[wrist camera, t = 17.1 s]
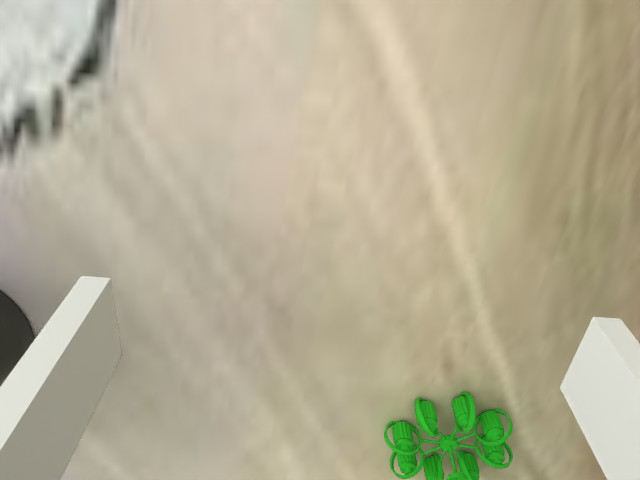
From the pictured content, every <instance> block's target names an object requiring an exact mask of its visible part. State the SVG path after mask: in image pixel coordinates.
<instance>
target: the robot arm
mask: <svg viewBox="0 0 640 480" xmlns="http://www.w3.org/2000/svg"><path fill="white" fill-rule="evenodd" d="M121 356H122V351H121V344H120V337H119V331H118V324H117V318H116V311H115V305H114V298H113V292H112V285H111V278H102V277H90V276H81V277H80V278H79V280H78V281H77V282H76V284H75V285H74V287H73V288H72V289H71V291H70V292H69V293H68V295H67V296H66V298H65V299H64V300H63V302H62V303H61V304H60V306H59V307H58V308H57V310H56V311H55V313H54V314H53V315H52V317H51V318H50V319H49V321H48V322H47V324H46V325H45V326H44V328H43V329H42V330H41V332H40V333H39V334H38V336H37V337H36V339H35V340H34V339H33V333H32V330H31V327H30V325H29V323H28V321H27V319H26V317H25V316H24V314H23V313H22V312H21V310H20V309H19V308H18V307H17V306H16V304H15V303H14V302H13V301H12V300H11V299H9V298H8V297H7V296H6V295H5V294H4V293H2V292H1V291H0V480H60V479H61V477H62V475H63V473H64V471H65V469H66V467H67V465H68V463H69V461H70V459H71V457H72V455H73V453H74V451H75V449H76V447H77V445H78V443H79V441H80V439H81V437H82V435H83V433H84V431H85V429H86V427H87V425H88V423H89V421H90V419H91V417H92V415H93V413H94V411H95V409H96V406H97V404H98V402H99V400H100V398H101V396H102V394H103V392H104V390H105V388H106V386H107V384H108V382H109V380H110V378H111V376H112V374H113V372H114V370H115V368H116V366H117V364H118V362H119V360H120V358H121ZM560 389H561V391H562V393H563V395H564V396H565V398H566V400H567V402H568V404H569V406H570V408H571V410H572V412H573V414H574V416H575V418H576V420H577V422H578V424H579V426H580V428H581V429H582V431H583V433H584V435H585V437H586V439H587V441H588V443H589V445H590V447H591V449H592V451H593V453H594V455H595V457H596V459H597V461H598V462H599V464H600V466H601V468H602V470H603V472H604V474H605V476H606V478H607V480H640V344H639V342H638V341H637V340H636V339H635V337H634V336H633V335H632V333H631V332H630V331H629V329H628V328H627V327H626V326H625V324H624V323H623V322H622V320H621V319H616V318H603V317H593V318H592V320H591V322H590V325H589V327H588V329H587V331H586V333H585V335H584V337H583V339H582V341H581V344H580V346H579V348H578V350H577V352H576V354H575V356H574V358H573V361H572V363H571V365H570V367H569V369H568V371H567V373H566V375H565V377H564V380H563V382H562V384H561V386H560Z"/></svg>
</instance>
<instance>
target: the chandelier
mask: <svg viewBox="0 0 640 480" xmlns="http://www.w3.org/2000/svg"><path fill="white" fill-rule="evenodd" d="M465 395H466V396H467V397H466V396H465ZM461 399H462V400H461ZM424 402H425V403H424ZM452 407H453V411H454V414H455V422H456V428H455V430H454V432H453V434H452V435H446V436H443V435H442V434H441V432H440V431H439V430H438V428H437V416H436V411H435V407H434V405H433V404H432V403H431V402H429V401H423V399H422V398H418V399H416V400H415V412H416V418H417V422H418V425H419V426H420V429H421V430H422V431H424V432H426V433H427V434H428V435H429V436H430V437H432V438H433V437H435V436H437V435H438V433H439V435H440V436H441V438H440V439H439V441H432V440H425V439H422V438H421V435H420V433H419V431H418V430H417V429H416V428H415V427H414V426H413V425H411V424H409V423H407V422H405V421H399V422H395V421H392V422H390V423H389V424H388V425H387V427H386V429H385V432H384V437H385V441H386V443H387V444H388V446H389V447H390V448H391V449H392V450H394V452H393V454H392V456H391V460H390V466H391V470H392V471H393V473H394V474H395V475H396V476H397V477H399V478H402V479H408V478H411V477H413V476H415V475H416V474H417V473H418V472H419V471H420V470H421V468H422V466H423V465H424V471H425V477H426V480H444V472H443V467H442V461H441V460H442V459H443V457H444V455H445V453H446V451H449V455H450V459H451V464H452V468H453V472H454V473H452V474H450V475H449V476H448V477H447V479H446V480H479V468H478V465H477V461H476V458H475V456H474V455H473V454H471V453H463V452H465V451H464V450H461V451H459V452H458V453H457V452H456V451H455V449H456V448H457V446H458V447H465V448H472V449H475V450H476V453H477V454H478V456H479V457H480V458H481V459H482V460H483V461H484V462H485V463H486V464H488V465H490V466H492V467H495V468H506V467H508V466H509V465H510V463H511V461H512V458H513V455H512V451H511V449H510V447H509V446H508V444H507V443H506V442H505V441H506V440H507V439H508V438H509V436H510V434H511V432H512V421H511V419H510V418H509V416H508V415H507V414H506V413H505V412H504V411H502V410H499V409H494V410H491V411H488V412H487V411H486V412H483V413H482V414H481V415H479V416H478V417H477V419H475V418H476V413H475V404H474V400H473V397H472V395H471V394H470V393H466V392H462V393H461V395H460V397H457V398H455V399H454V401H453V404H452ZM498 413H501V414H503V415H505V416H506V417H507V418H508V420H509V428H508V431H507V433H506V434H505V436H504V428H503V425H502V422H501V419H500V417H499V415H498ZM488 414H489V415H488ZM489 417H490V418H489ZM490 420H491V421H490ZM479 421H480V422H481V425H482V429H483V432H484V434H485V435H486V436H485V435H484V434H481V435H479V436H478V435H477V426H478V423H479ZM392 425H393V428H392V430H393V438H394V443H395V445H396V447H395V446H394V445H393V444H392V443H391V442H390V440H389V439H388V436H387V429H388V428H389V427H390V426H392ZM473 425H474V427H473ZM462 427H464V428H466V429H465V430H463V429H462ZM472 427H473V429H474V433H472V434H470V435H467V436H465V437H462V438H459V439H457V438H456V437H455V436H454V435H455V433H456V431H457V429H458V431H459V432H460V433H465V434H467V433H469V432H470V431H471V429H472ZM412 430H413V431H414V432H415V434H416V435H417V437H418V439H419V446H418V445H417V444H416V443H413V435H412ZM474 435H475V436H476V437H477V439H476V441H475V447H474V446H467V445H460V444H457V443H458V441H461V440H463V439H466V438H469V437H471V436H474ZM480 438H482V440H481V439H480ZM478 440H479V441H480V442H481V443H482V447H483V451H484V454H485V457H486V458H485V457H484V456H483V455H482V453H481V452H480V450H479V448H478ZM422 441H423V442H430V443H437V444H439V445H440V446H439V447H436V448H434V449H431V450H429V451H426V452H423V450H422V449H421V448H420V447H421V445H422ZM502 445H503V446H504V447H505V448H506V450H507V451H508V453H509V462H508V463H506V464H502V462H503V461H504V460H505V458H504V450H503V447H502ZM413 446H416V447H418V448H417V449H416V450H415V449H414V447H413ZM440 448H441V449H442V450H444V452H443V454H442V455H441V457H440V456H439V455H438V454H436V453H432V454H431V456H435V457H428V458H426V459H425V460H424V455H425V454H427V453H430V452H432V451H435V450H438V449H440ZM419 449H420V452H421V460H420V463H419V465H418V467H417V468H416V466H417V460H416V454H415V453H417V452H418V451H419ZM452 451H453V452H454V453H455V454H456V455H457V456H458V460H457V461H458V465H459V469H460V473H457V470H456V465H455V461H454V457H453V453H452ZM396 455H397V457H398V465H399V467H400V470H401V472H402V473H404V474H405V475H399V474H397V473H396V472H395V470H394V466H393V464H394V459H395V457H396Z"/></svg>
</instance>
